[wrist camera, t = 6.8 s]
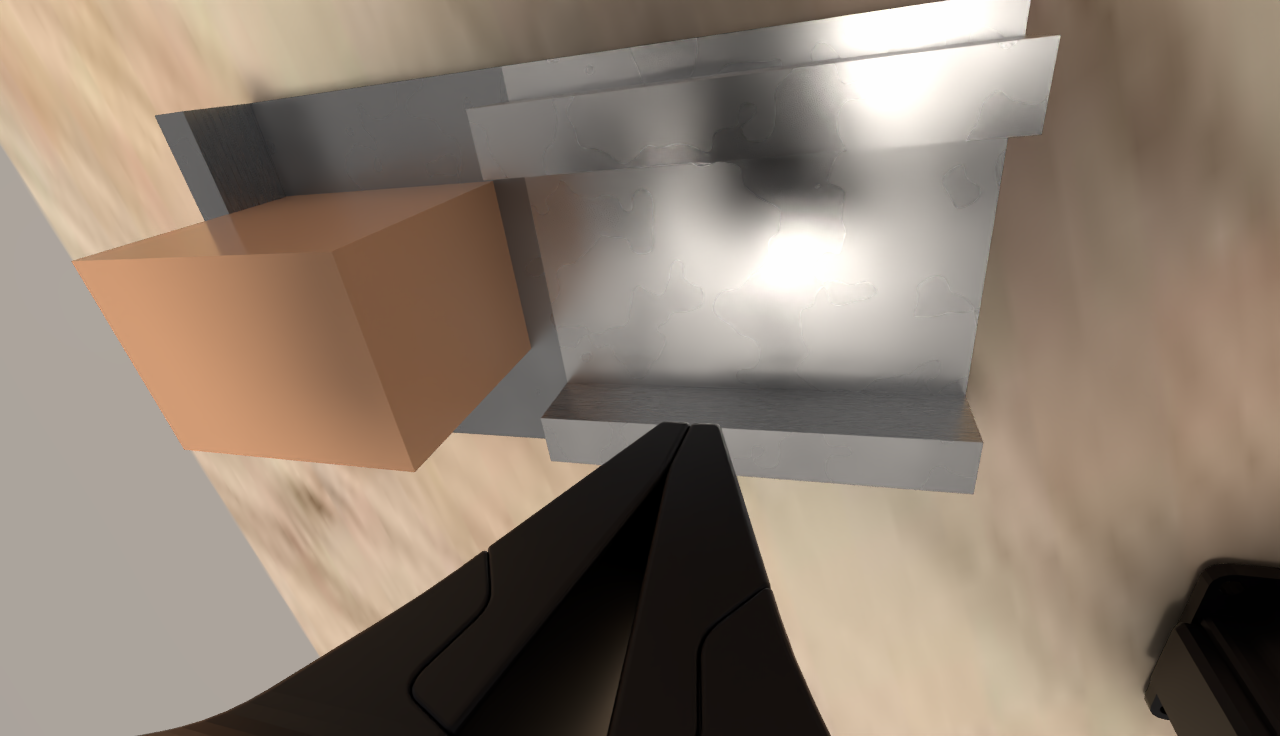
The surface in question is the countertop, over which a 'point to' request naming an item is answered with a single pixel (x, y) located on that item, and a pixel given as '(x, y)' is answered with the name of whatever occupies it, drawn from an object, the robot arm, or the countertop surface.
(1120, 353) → the countertop surface
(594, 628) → the robot arm
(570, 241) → the chute
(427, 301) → the block
